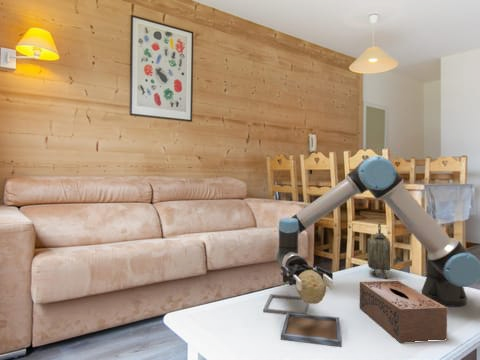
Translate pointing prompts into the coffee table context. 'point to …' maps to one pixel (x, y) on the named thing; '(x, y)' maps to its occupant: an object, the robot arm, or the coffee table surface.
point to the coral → (311, 287)
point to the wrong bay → (283, 310)
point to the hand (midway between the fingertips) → (316, 285)
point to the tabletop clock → (379, 252)
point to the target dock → (312, 329)
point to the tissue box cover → (403, 311)
